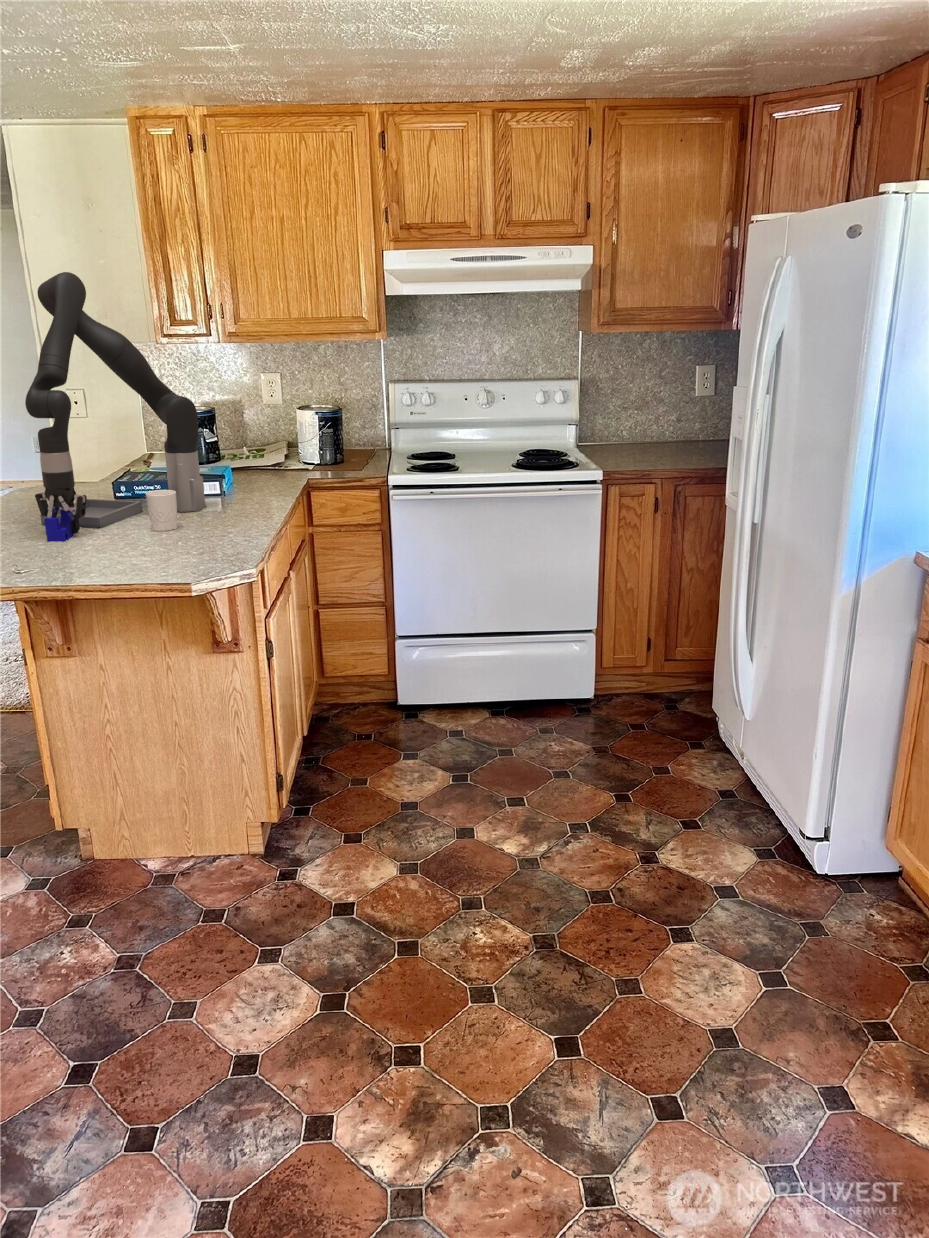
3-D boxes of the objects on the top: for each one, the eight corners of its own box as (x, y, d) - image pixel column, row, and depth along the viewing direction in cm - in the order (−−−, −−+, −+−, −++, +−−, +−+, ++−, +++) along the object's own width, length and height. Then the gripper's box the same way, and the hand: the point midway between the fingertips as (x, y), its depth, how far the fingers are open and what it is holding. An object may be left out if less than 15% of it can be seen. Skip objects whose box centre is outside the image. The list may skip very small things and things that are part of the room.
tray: (142, 511, 273) (141, 501, 272) (100, 528, 252) (99, 517, 251) (88, 508, 276) (86, 498, 275) (42, 525, 256) (40, 514, 255)
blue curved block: (64, 541, 239) (61, 519, 237) (47, 541, 239) (44, 519, 237) (82, 530, 250) (79, 509, 248) (65, 530, 250) (62, 509, 248)
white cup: (185, 526, 255) (181, 490, 252) (167, 533, 248) (164, 496, 245) (161, 524, 258) (157, 489, 254) (143, 530, 251) (139, 494, 247)
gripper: (90, 467, 241) (98, 531, 247) (41, 465, 244) (50, 528, 249) (73, 472, 234) (81, 537, 240) (23, 470, 237) (32, 534, 242)
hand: (65, 532), depth 245 cm, fingers closed on blue curved block, 5 cm apart
